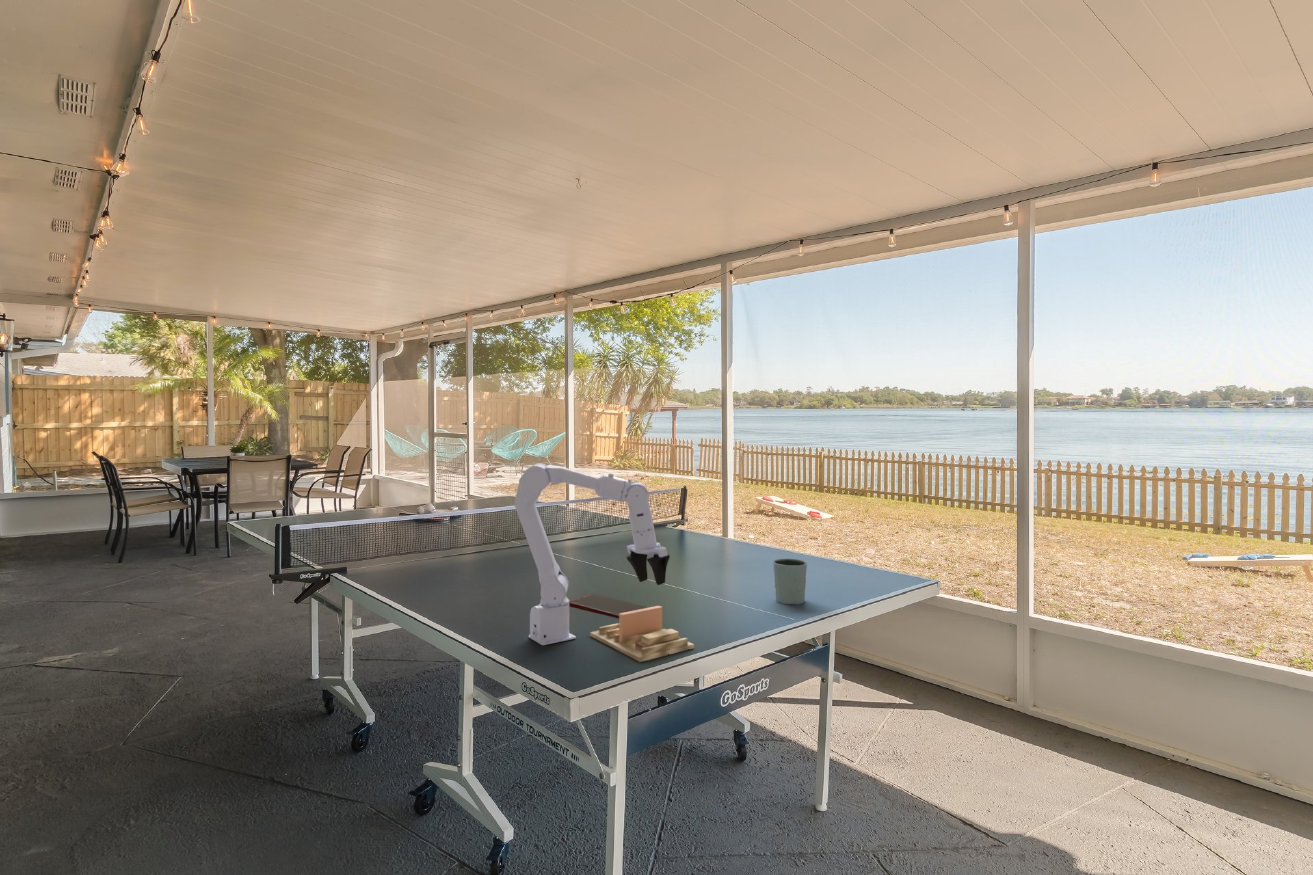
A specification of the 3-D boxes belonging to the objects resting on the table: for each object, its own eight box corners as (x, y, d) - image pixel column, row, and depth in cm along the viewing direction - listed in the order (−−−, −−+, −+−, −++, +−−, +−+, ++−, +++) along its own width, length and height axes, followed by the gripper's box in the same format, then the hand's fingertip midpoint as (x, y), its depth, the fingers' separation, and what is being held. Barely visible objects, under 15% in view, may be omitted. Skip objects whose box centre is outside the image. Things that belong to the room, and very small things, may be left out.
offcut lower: (643, 652, 159) (643, 646, 159) (635, 648, 162) (635, 642, 162) (680, 643, 166) (680, 637, 166) (672, 639, 168) (672, 633, 168)
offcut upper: (648, 645, 160) (648, 638, 160) (641, 641, 163) (641, 635, 162) (678, 637, 165) (678, 631, 165) (671, 634, 168) (671, 628, 168)
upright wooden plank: (622, 643, 165) (622, 614, 165) (618, 641, 167) (619, 613, 166) (661, 634, 173) (662, 606, 172) (658, 632, 174) (658, 605, 174)
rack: (639, 661, 156) (639, 651, 156) (590, 636, 174) (590, 626, 174) (693, 648, 166) (693, 638, 165) (641, 624, 183) (641, 615, 183)
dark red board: (631, 618, 186) (566, 601, 202) (631, 624, 187) (566, 606, 202) (658, 608, 196) (594, 592, 211) (658, 613, 196) (594, 597, 211)
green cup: (806, 606, 203) (807, 566, 202) (771, 604, 205) (772, 564, 204) (805, 597, 213) (806, 559, 212) (773, 595, 215) (773, 557, 214)
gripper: (672, 527, 169) (682, 580, 169) (639, 524, 180) (648, 574, 181) (650, 534, 165) (659, 588, 165) (617, 531, 176) (626, 582, 177)
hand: (652, 582), depth 173 cm, fingers open, 7 cm apart
